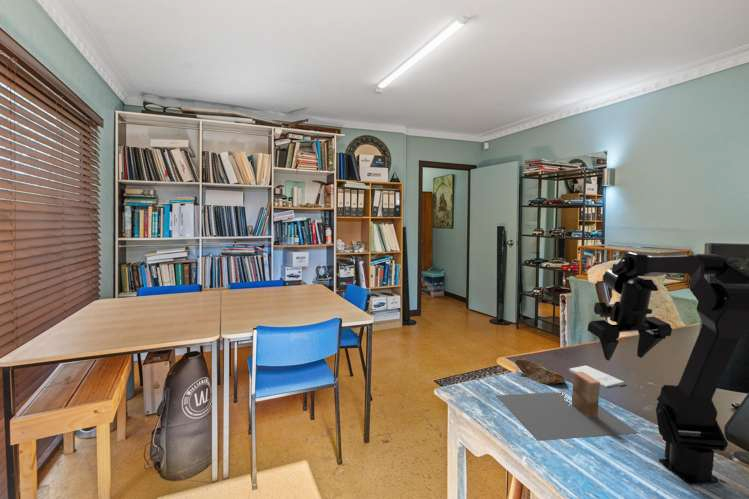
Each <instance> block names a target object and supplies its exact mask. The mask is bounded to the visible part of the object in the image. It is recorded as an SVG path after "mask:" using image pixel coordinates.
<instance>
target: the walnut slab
mask: <svg viewBox="0 0 749 499" xmlns="http://www.w3.org/2000/svg"><path fill="white" fill-rule="evenodd" d="M572 378H573V379H572V380H573V381H572V391H573V393H572V406H574V407H575V408H576V409H577V410H579V411H580V412H581V413H583V414H584V415H585V416H586V417H588V418H594V417H597V416H598V405H599V402H600V401H599V399H600V386H601V385H600V382H599V381H597V380H595V379H594V378H592V377H591V376H589V375H587V374H586V373H584V372H574V374H573V377H572Z"/></svg>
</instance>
